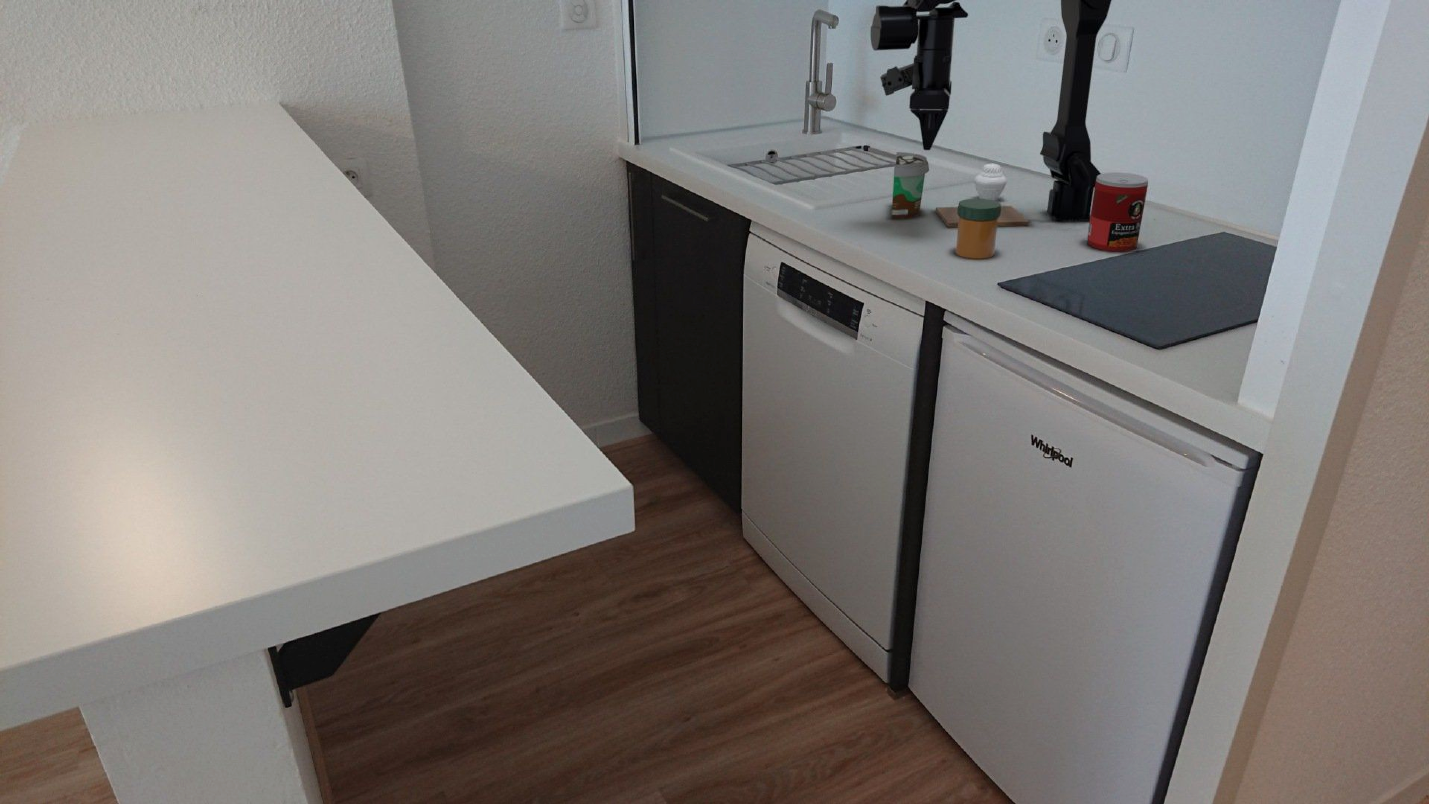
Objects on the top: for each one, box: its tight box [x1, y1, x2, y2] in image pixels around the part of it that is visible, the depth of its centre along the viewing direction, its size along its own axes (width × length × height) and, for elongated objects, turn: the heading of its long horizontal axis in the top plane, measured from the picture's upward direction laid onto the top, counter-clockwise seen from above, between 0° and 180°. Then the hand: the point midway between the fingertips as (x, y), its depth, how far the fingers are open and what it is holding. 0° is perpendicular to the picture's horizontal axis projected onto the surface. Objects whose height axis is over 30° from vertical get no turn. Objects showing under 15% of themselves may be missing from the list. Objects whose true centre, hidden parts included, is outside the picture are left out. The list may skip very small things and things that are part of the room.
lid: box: [957, 198, 1002, 221], centre depth 150 cm, size 6×6×2 cm
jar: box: [955, 217, 998, 260], centre depth 152 cm, size 6×6×8 cm
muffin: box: [973, 162, 1008, 201], centre depth 183 cm, size 6×6×7 cm
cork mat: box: [935, 205, 1029, 228], centre depth 172 cm, size 14×11×1 cm
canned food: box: [1086, 172, 1149, 252], centre depth 153 cm, size 8×8×11 cm
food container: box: [890, 151, 930, 220], centre depth 175 cm, size 12×6×10 cm, turn 168°
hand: (928, 144), depth 163 cm, fingers open, 9 cm apart
